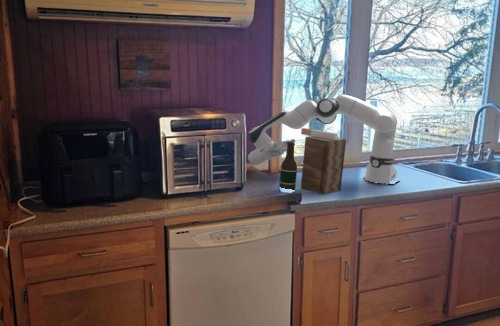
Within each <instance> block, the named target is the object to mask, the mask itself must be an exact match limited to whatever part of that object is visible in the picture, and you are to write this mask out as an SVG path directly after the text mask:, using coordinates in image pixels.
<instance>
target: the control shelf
mask: <svg viewBox="0 0 500 326" xmlns="http://www.w3.org/2000/svg"><path fill="white" fill-rule="evenodd" d="M346 143H347V139H345V138H340V137H337V140H332V139H326V138H320V137H315V136H305V139H304V148H303V149H304V151H303V161H302V172H301V183H300V184H301V185H300V190H305V191H308V192H312V193H315V194H320V195H326V194H330V193H333V192H337V191H338V192H339V191H342V189H341V188H342V180H343V171H344V161H345V152H346Z"/></svg>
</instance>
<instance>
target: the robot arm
mask: <svg viewBox="0 0 500 326" xmlns="http://www.w3.org/2000/svg"><path fill="white" fill-rule="evenodd" d="M337 115H344V116H346V117H348V118H351V119H352V120H355V121H357V122H360V123H361V124H363V125H366V127H369V128H370V129H373V130H374V135H373V140H372V146H371V153H370V156H369V163H368V164H367V165H366V170H365V175H363V177H362V178H363V179H364V178H365V179H364V180H365V181H366V180H367V181H366V182H368V181H370V182H369V183H371V182H377V183H390V181H392V180H394V179H395V178H398V177H397V176H398V171H397V169H396V168H395V166H394V165H393V163H394V162H395V161H396V159H395V157H393V151H394V143H395V138H396V132H397V131H396V130H397V125H398V119H397V116H396V115H395V113H393V112H390V111H384V110H382V109H381V108H378V107H376V106H374V105H372V104H370V103H368V102H366V101H363V100H362V99H359V98H356V97H354V96H351V95H348V94H339V95H337V96H336V98H333V97H332V98H322V99H320V100H319V101H318V102H317V103H316V102H315V101H314V100H311V99H307V100H304V101H303V102H302V103H299V105H297V106H296V107H295V108H293V109H292V110H291V111H288V112H286V111H281V112H279V113H277V114H275V115H274V116H272V117H270V118H268V119H267V120H266V121H264V122H262V123H260V124H259V125H260V126H259V125H257V126H255V127H253V128H251V129H252V130H251V129H250V130H251V131H250V130H249V132H248V133H247V139H249V140H248V141H249V142H250V143H251V144H253V146H255V149H254V150H252V151H251V152H250V153H248V155H247V159H248V161H249V163H250V164H251V165H253V166H259V165H262V164H263V163H266V162H267V161H270V160H272V159H274V158H277V157H279V156H281V155H283V154H284V153H285V152H286V153H287V146H288V145H287V143H288V142H294V143H295V144H296V140H295V139H290V140H284V139H282V140H277V141H274V140H273V139H272V138H271V137H270V136H269V135H268V134H267V132H266V131H267V130H269V129H270V128H272V127H273V126H275V125H277V124H282V125H285V126H286V127H288V128H290V129H293V130H300V129H302V128H304V126H306V125H307V124H308V123H309V122H310V121H312V120H313V119H315V120H316V121H318V122H320V123H322V124H324V125H330V124H332V123H334V122H335V121H336V118H337ZM377 183H376V184H377Z"/></svg>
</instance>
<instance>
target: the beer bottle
mask: <svg viewBox="0 0 500 326" xmlns="http://www.w3.org/2000/svg"><path fill="white" fill-rule="evenodd" d="M287 145H288V146H287V151H286V155H285V158H284V159H283V161H282V162H281V165H280V172H279V182H278V183H279V184H278V185H279V186H280V187H281V188H285V189H292V190H295V191H296V184H297V183H296V182H297V173H298V172H297V171H298V166H297V165H298V164H297V162H296V160H295V145H296V142H295V143H294V142H288V143H287ZM279 186H278V187H279Z"/></svg>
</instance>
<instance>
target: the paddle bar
mask: <svg viewBox="0 0 500 326" xmlns="http://www.w3.org/2000/svg"><path fill="white" fill-rule="evenodd" d="M300 132H301V133H300V134H301V135H302V136H303V135H304V136H308V137H312V136H315V137H320V138H326V139H332V140H337V138H338V133H336V132H331V131H324V130H318V129H312V128H306V127H302V128H301V131H300Z"/></svg>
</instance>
